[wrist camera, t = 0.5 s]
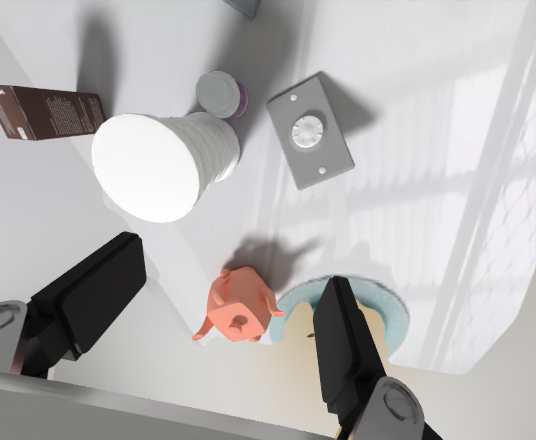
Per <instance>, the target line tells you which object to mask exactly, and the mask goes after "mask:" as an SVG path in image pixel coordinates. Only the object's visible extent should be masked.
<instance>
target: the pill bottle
mask: <svg viewBox="0 0 536 440" xmlns="http://www.w3.org/2000/svg"><path fill="white" fill-rule="evenodd" d="M196 96H197V99H198V101H199V103H200V104H201V106H202V107H203V108H204V109H205V110H206V111H207V112H208V113H209V114H211V115H212V116H214V117H217V118H236V117H239V116H241V115H242V114H243V113H244V112H245V110H246V108H247V106H248V94H247V91H246V89H245V87H244V86H243V85H242V84H241V83H240V82H239V81H237V80H236V79H235V78H233V77H232V76H230V75H229V74H227V73H225V72H223V71H212V72H210V73H208V74H205V75H203V76H202V77H201V78H200V79H199V81H198V83H197V86H196Z"/></svg>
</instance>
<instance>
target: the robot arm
mask: <svg viewBox="0 0 536 440" xmlns="http://www.w3.org/2000/svg"><path fill="white" fill-rule="evenodd" d="M145 282H146V271H145V262H144V254H143V246H142V239H141V238H139V235H138V234H135V233H130V232H126V231H125V232H122V233H120V234H119V235H117V236H116V237H115V238H113V239H112V240H110V241H109V242H108V243H106V244H105V245H103V246H102V247H101V248H99V249H98V250H96V251H95V252H94V253H92V254H91V255H89V256H88V257H87V258H85V259H84V260H83V261H81V262H80V263H78V264H77V265H76V266H74V267H73V268H71V269H70V270H69V271H67V272H66V273H64V274H63V275H61V276H60V277H59V278H57V279H56V280H54V281H53V282H52V283H50V284H49V285H47V286H46V287H45V288H43V289H42V290H41V291H39V292H38V293H36V294H35V295H33V296H32V297H31V301H30V302H29V303H27V304H25V303H24V302H22V301H17V300H16V301H15V300H10V301H4V302H0V440H443V439H442V438H441V437H440V436H439V435H438V434H437V433H436V432H435V431H434V430H432V428H431V427H430V426H429V425H428V424H427V423H426V422H425V421H424V414H423V410H422V407H421V405H420V403H419V402H418V399H417V398H416V397H415V395H414V394H413V393H412V391H411V390H410V389H409V388H408V387H407V386H406V385H405V384H403V383H402V382H401V381H399V380H398V379H395V378H393V377H387V375H386V373H385V370H384V367H383V365H382V362H381V359H380V357H379V354H378V352H377V349H376V346H375V344H374V341H373V338H372V335H371V333H370V330H369V327H368V325H367V322H366V319H365V317H364V314H363V313H362V311H361V310H360V309H359V308H358V305H357V303H356V300H355V297H354V294H353V292H352V289H351V286H350V283H349V281H348V279H347V278H345V277H340V276H334V277H333V278H330V279H329V281H328V283H327V285H326V287H325V289H324V292H323V294H322V296H321V298H320V301H319V303H318V305H317V307H316V309H315V312H314V315H313V324H314V333H315V341H316V349H317V358H318V365H319V374H320V382H321V391H322V398H323V401H324V402H325V403H327V408H328V412H329V413H334V414H338V420H339V424H340V428H339V430H338V432H337V434H336V436H335V438H331V437H327V436H323V435H319V434H314V433H310V432H306V431H301V430H296V429H292V428H288V427H283V426H279V425H273V424H269V423H264V422H259V421H255V420H250V419H245V418H240V417H235V416H230V415H225V414H220V413H216V412H211V411H205V410H201V409H195V408H191V407H186V406H180V405H176V404H170V403H166V402H161V401H156V400H151V399H146V398H141V397H136V396H131V395H126V394H120V393H115V392H110V391H105V390H100V389H95V388H90V387H85V386H79V385H74V384H69V383H64V382H58V381H53V378H54V370H55V365H56V363H57V362H58V361H59V360H60V359H61V358H62V359H66V360H71V361H77V360H78V358H79V357H80V356H81V355H82V354H83V353H86V352H88V351H89V350H90V349H91V348H92V347H93V345H94V344H95V343H96V342H97V341H98V339H99V338H100V337H101V336H102V335H103V333H104V332H105V331H106V330H107V329H108V327H109V326H110V325H111V324H112V323H113V322H114V320H115V319H116V318H117V317H118V316H119V314H120V313H121V312H122V311H123V309H124V308H125V307H126V306H127V305H128V304H129V302H130V301H131V300H132V299H133V298H134V297H135V295H136V294H137V293H138V292H139V291H140V289H141V288H142V287H143V286H144V284H145Z"/></svg>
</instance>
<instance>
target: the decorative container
mask: <svg viewBox="0 0 536 440" xmlns="http://www.w3.org/2000/svg"><path fill="white" fill-rule="evenodd" d="M91 151H92V163H93V167H94V170H95V173H96V176H97V178H98V180H99V182H100V183H101V185H102V187H103V189H104V190H105V191H106V193H107V194H108V195H109V196H110V197H111V198H112V200H113V201H114V202H115V203H117V204H118V205H119V206H120V207H121V208H123V209H124V210H125V211H127V212H129V213H130V214H132V215H134V216H136V217H138V218H141V219H144V220H147V221H151V222H160V223H163V222H171V221H175V220H177V219H179V218H181V217H184V216H185V215H186V214H187V213H188V212H189V211H190V210H191V209H192V208H193V207H194V206H195V205H196V204H197V202H198V201H199V199H200V197H201V196H202V194H203V193H204V192H206V191H207V190H208V189H209V188H210V187H211V186H212V185H213V184H214V183H215V182H217V181H221V180H223V179H225V178H226V177H228V176H229V175H230V174H231V173H232V172H233V171H234V169H235V168H236V166H237V164H238V161H239V157H240V145H239V141H238V138H237V136H236V134H235V132H234V130H233V128H232V127H231V126H230V125H229V124H228V122H227V121H225V120H224V119H222V118H217V117H214V116H212V115H211V114H209V113H208V112H195V113H191V114H189V115H187V116H185V117H181V118H180V117H177V118H173V117H170V118H158V117H155V116H152V115H147V114H134V113H126V114H122V115H118V116H113V117H111V118H110V119H108V120H107V121H106V122H104V123H103V124H101V126H100V127H99V129H98V130H97V132H96V134H95V135H94V139H93V143H92V148H91Z"/></svg>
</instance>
